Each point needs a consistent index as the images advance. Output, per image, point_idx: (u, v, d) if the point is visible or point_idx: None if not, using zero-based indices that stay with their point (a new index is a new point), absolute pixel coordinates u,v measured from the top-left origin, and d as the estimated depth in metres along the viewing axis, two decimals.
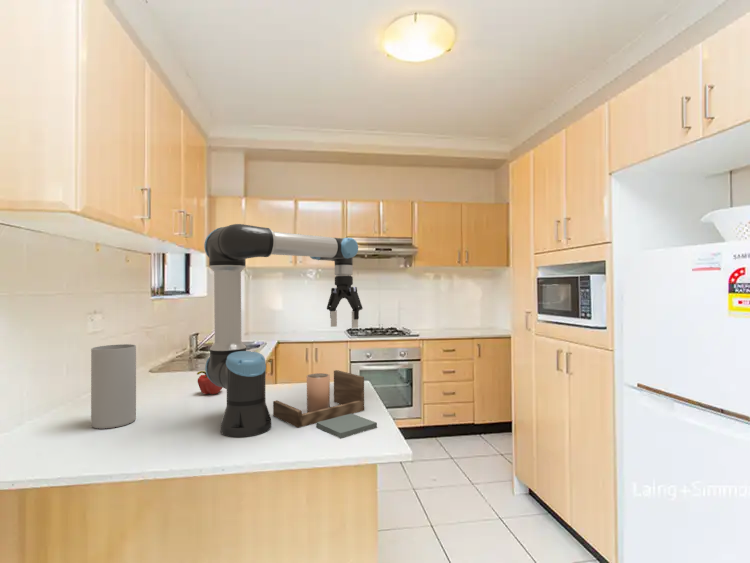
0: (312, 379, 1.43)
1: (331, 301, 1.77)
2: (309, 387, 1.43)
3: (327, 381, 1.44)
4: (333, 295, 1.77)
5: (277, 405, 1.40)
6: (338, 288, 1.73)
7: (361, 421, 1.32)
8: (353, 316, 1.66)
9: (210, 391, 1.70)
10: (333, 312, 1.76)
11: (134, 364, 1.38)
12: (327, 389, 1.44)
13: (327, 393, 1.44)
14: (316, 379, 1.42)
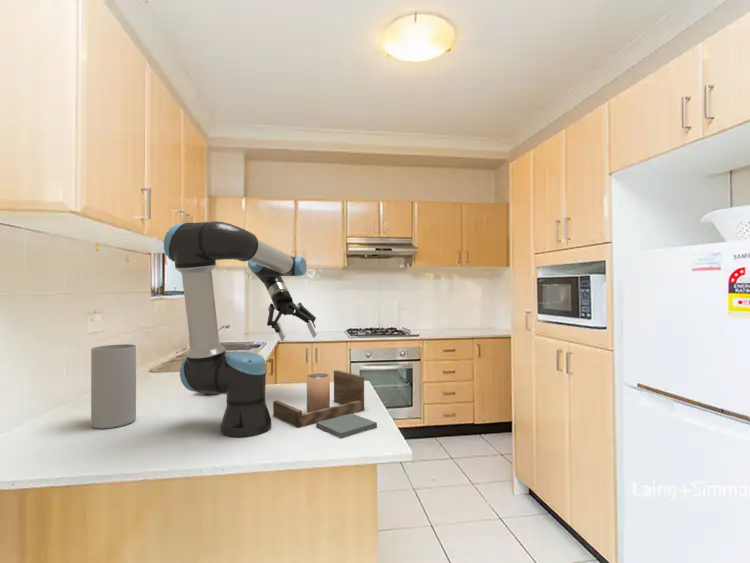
0: (312, 379, 1.43)
1: (272, 315, 1.57)
2: (309, 387, 1.43)
3: (327, 381, 1.44)
4: None
5: (277, 405, 1.40)
6: (281, 304, 1.63)
7: (361, 421, 1.32)
8: (312, 324, 1.63)
9: None
10: None
11: (134, 364, 1.38)
12: (327, 389, 1.44)
13: (327, 393, 1.44)
14: (316, 379, 1.42)
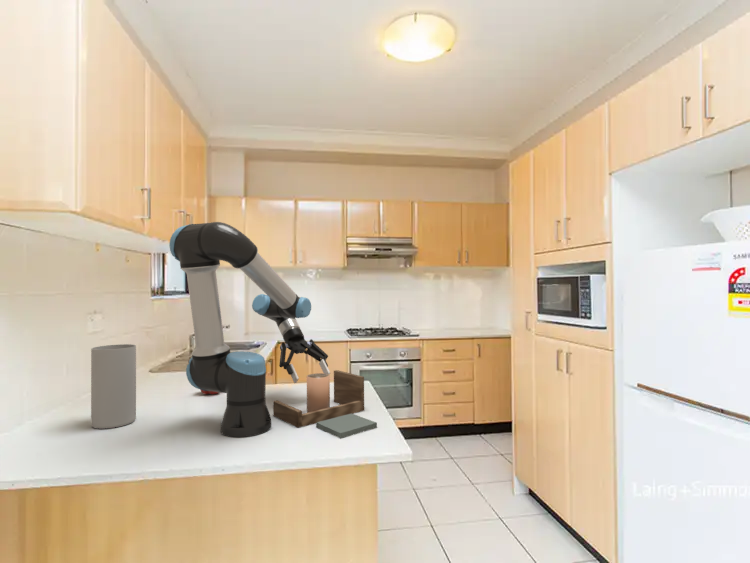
0: (312, 379, 1.43)
1: None
2: (309, 387, 1.43)
3: (327, 381, 1.44)
4: None
5: (277, 405, 1.40)
6: (292, 342, 1.58)
7: (361, 421, 1.32)
8: None
9: (210, 391, 1.70)
10: None
11: (134, 364, 1.38)
12: (327, 389, 1.44)
13: (327, 393, 1.44)
14: (316, 379, 1.42)
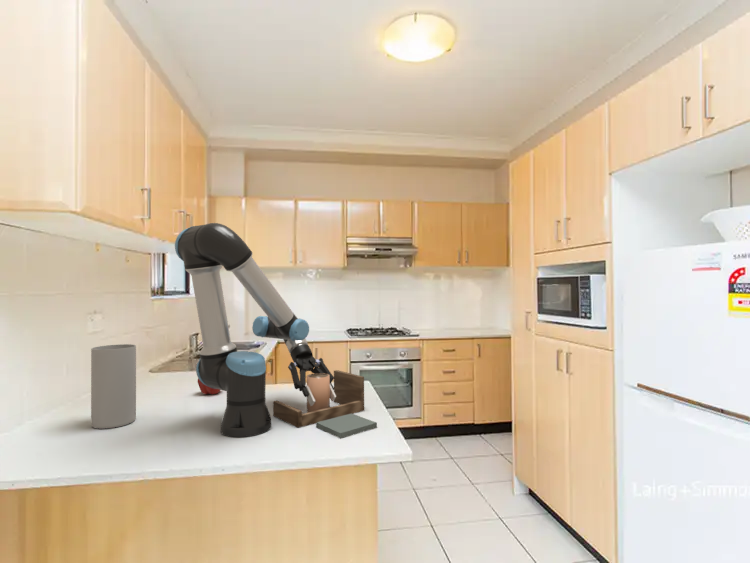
0: (312, 379, 1.43)
1: None
2: (309, 387, 1.43)
3: (327, 381, 1.44)
4: None
5: (277, 405, 1.40)
6: (299, 359, 1.51)
7: (361, 421, 1.32)
8: (330, 386, 1.49)
9: (210, 391, 1.70)
10: None
11: (134, 364, 1.38)
12: (327, 389, 1.44)
13: (327, 393, 1.44)
14: (316, 379, 1.42)
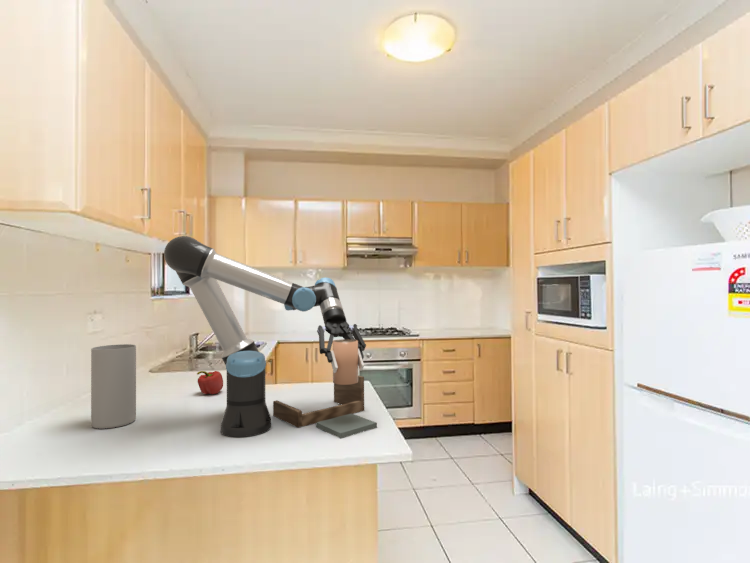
0: (336, 343, 1.30)
1: (323, 340, 1.34)
2: (334, 353, 1.30)
3: (353, 347, 1.30)
4: None
5: (277, 405, 1.40)
6: (330, 323, 1.39)
7: (361, 421, 1.32)
8: (360, 354, 1.34)
9: (210, 391, 1.70)
10: None
11: (134, 364, 1.38)
12: (353, 356, 1.30)
13: (353, 360, 1.30)
14: (340, 344, 1.29)
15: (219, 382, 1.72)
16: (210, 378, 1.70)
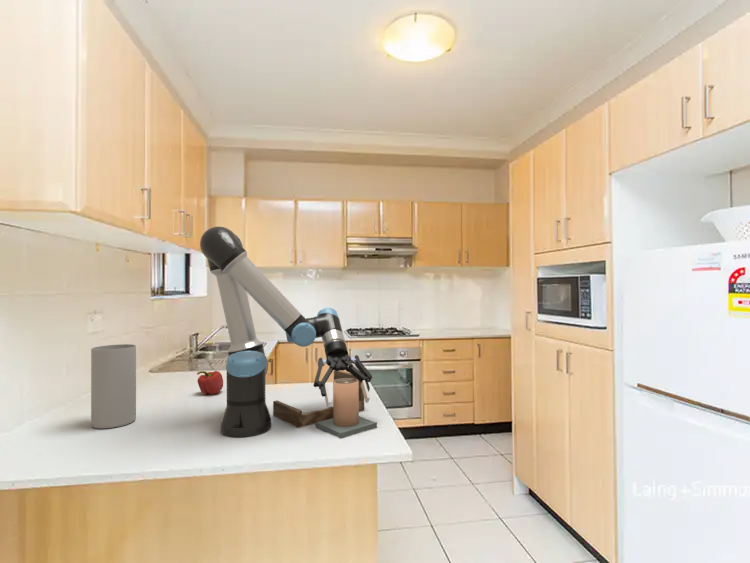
0: (336, 385, 1.28)
1: (320, 373, 1.32)
2: (334, 394, 1.29)
3: (353, 388, 1.28)
4: (322, 366, 1.35)
5: (277, 405, 1.40)
6: (332, 357, 1.38)
7: (361, 421, 1.32)
8: (366, 386, 1.33)
9: (210, 391, 1.70)
10: None
11: (134, 364, 1.38)
12: (353, 397, 1.28)
13: (353, 402, 1.28)
14: (340, 385, 1.27)
15: (219, 382, 1.72)
16: (210, 378, 1.70)
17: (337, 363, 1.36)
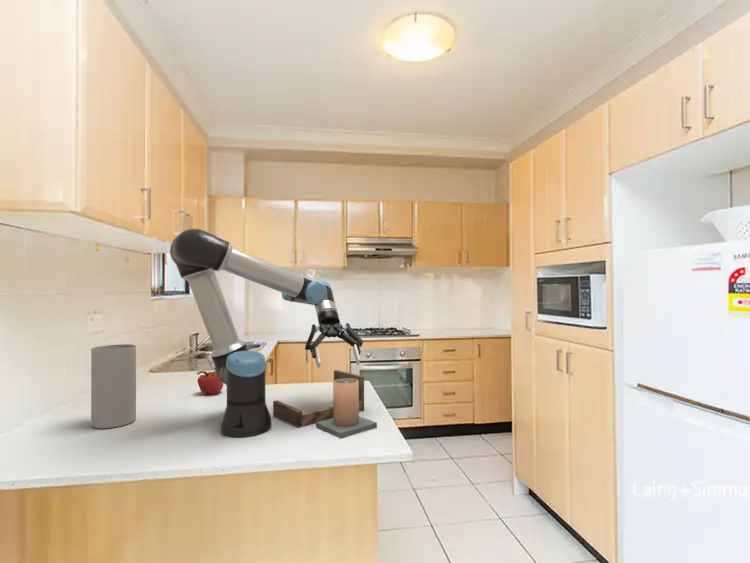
0: (336, 384, 1.28)
1: (312, 338, 1.42)
2: (334, 393, 1.29)
3: (353, 388, 1.28)
4: (314, 332, 1.44)
5: (277, 405, 1.40)
6: (324, 324, 1.47)
7: (361, 421, 1.32)
8: None
9: (210, 391, 1.70)
10: None
11: (134, 364, 1.38)
12: (353, 397, 1.28)
13: (353, 401, 1.28)
14: (340, 385, 1.27)
15: (219, 382, 1.72)
16: (210, 378, 1.70)
17: (329, 330, 1.46)
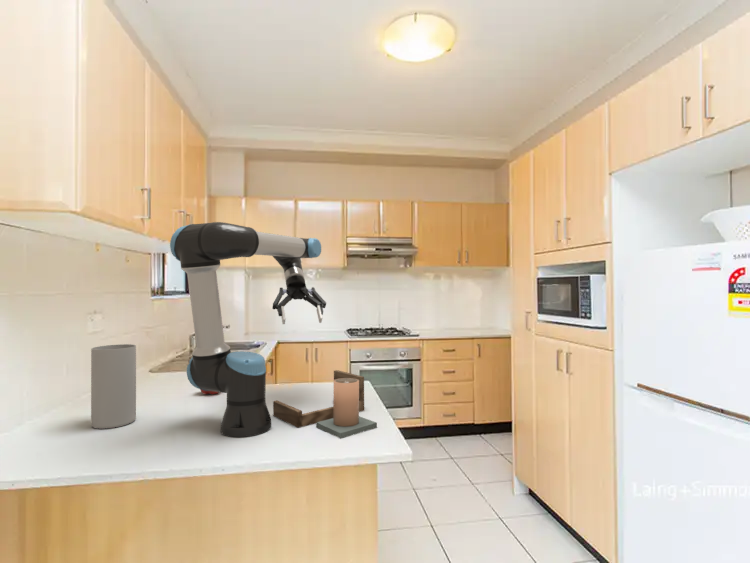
0: (337, 384, 1.28)
1: (279, 299, 1.57)
2: (334, 393, 1.29)
3: (354, 388, 1.28)
4: (281, 294, 1.59)
5: (277, 405, 1.40)
6: (291, 288, 1.62)
7: (361, 421, 1.32)
8: None
9: (210, 391, 1.70)
10: None
11: (134, 364, 1.38)
12: (353, 397, 1.28)
13: (353, 401, 1.28)
14: (340, 384, 1.27)
15: None
16: None
17: (295, 292, 1.61)
